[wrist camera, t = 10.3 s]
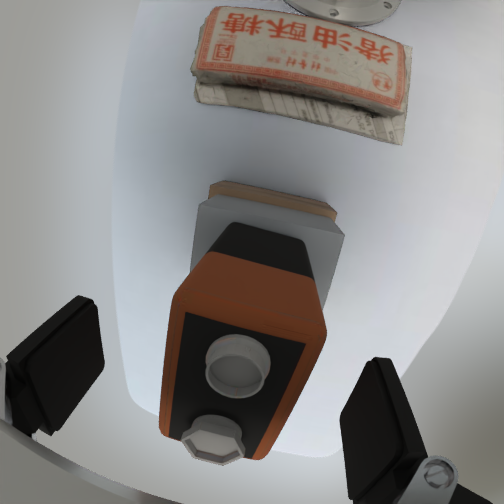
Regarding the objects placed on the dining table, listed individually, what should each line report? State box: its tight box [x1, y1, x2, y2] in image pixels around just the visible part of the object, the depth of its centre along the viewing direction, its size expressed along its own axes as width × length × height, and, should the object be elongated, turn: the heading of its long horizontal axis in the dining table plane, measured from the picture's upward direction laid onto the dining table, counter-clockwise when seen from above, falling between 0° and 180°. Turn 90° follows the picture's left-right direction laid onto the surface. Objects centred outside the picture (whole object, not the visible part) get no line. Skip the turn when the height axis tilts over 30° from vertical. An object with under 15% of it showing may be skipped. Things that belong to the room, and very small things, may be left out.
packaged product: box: [190, 6, 412, 145], centre depth 20 cm, size 18×5×10 cm
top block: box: [190, 194, 345, 311], centre depth 19 cm, size 8×8×5 cm
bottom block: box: [208, 181, 337, 223], centre depth 24 cm, size 9×9×5 cm
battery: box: [159, 222, 327, 466], centre depth 12 cm, size 4×7×10 cm, turn 166°
